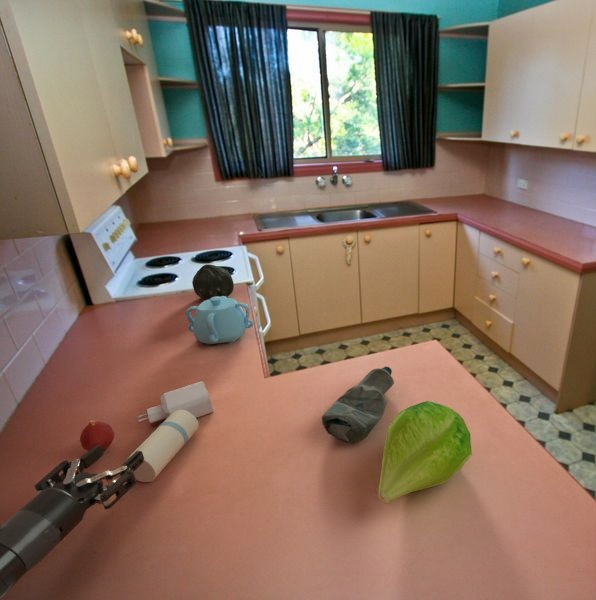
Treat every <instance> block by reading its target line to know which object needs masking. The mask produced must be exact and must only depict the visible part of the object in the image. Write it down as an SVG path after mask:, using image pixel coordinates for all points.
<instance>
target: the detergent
mask: <svg viewBox="0 0 596 600" xmlns="http://www.w3.org/2000/svg"><path fill="white" fill-rule="evenodd" d="M392 372H393V370H392V369H391V367H390V366H383V367H380V368H378V367H377V368H373V369H371V370H370V371H369V372H367V374H366V375H365V376H364V377H363V378H362V379H361V380H360V382H359V383H357V384H356V385H354V386H352V387H351V388H349V389H348V390H346V391H345V392H344V393H343V394H342V395H341V396H340V397H338V398H337V399H336V400H335V402H334V403H333V404H332V405H331V406H330V407H329V408H328V409H327V410H326V411H325V412H324V414H323V415H322V416H321V423H322V425H323V428H324V429H325V431H326V432H327V434H328V435H330V436H333V437H334V438H335V439H339V440H341V441H343V442H346V443H353V444H354V443H358V442H361V441H363V440H364V439H366V438H367V437H368V435H369V434H370V433H371V431H373V430H374V428H375V427H376V425H377V424H378V423H379V422H380V421H381V419H383V416H384V413H385V411H386V407H387V404H388V401H387V399H386V397H385V394H386V393H387V392H388V391H389V390H391V388H392V387H393V385H394V384H395V381H394V379H393V376H392Z"/></svg>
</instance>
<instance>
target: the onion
mask: <svg viewBox="0 0 596 600" xmlns="http://www.w3.org/2000/svg"><path fill="white" fill-rule="evenodd" d="M114 439H115V431H114V429H113V428H112V426H111V425H110V424H109V423H107V422H104V421H97V420H96V421H95V420H90V421H89V422H88V424H87V425H86V426H85V427H84V428H83V429H82V431H81V433H80V436H79V442H80V445H81V447H82V448H83V449H84V450H85V451H87V452H88V451H89V450H90V449H92V448H94V447H95V446H96V445H99V446H102V449H103V451H104V452H105V451H106V450H107V449H109V447H110V445H111V444H112V443H113V442H114Z"/></svg>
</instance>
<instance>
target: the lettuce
mask: <svg viewBox="0 0 596 600" xmlns="http://www.w3.org/2000/svg"><path fill="white" fill-rule="evenodd" d="M382 454H383V455H382V460H381V461H382V462H381V472H380V478H379V484H378V499H379V500H380V501H381V502H382V503H384V504H387V503H391V502H393V501H394V500H397V499H399V498H401V497H403V496H405V495H408V494H409V493H412V492H417V491H420V490H425V489H428V488H432V487H436V486H439V485H442V484H445V483H446V482H448V481H449V480H450V479H451V478H452V477H453V476H454V475H456V473H458V472H459V471H460V470H461V469H462V468H463V467H464V466H465V464H466V463H467V462H468V461H469V459H471V457H472V456H473V450H472V441H471V433H470V430H469V428H468V426H467V424H466V422H465V420H464V418H463V417H462V416H461V414H460V413H458V412H457V411H455V410H454V409H453V408H451V407H449V406H446V405H443V404H440V403H437V402H433V401H431V400H426V401H422V402H420V403H417V404H413V405H411V406H408V407H406V408H404V409H403V410H401V411H400V412H399V413H398V414H397V415H396V416H395V417H394V418H393V420H392V422H391V423H390V425H389V426H388V427H387V431H386V437H385V442H384V448H383V453H382Z"/></svg>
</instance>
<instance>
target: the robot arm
mask: <svg viewBox="0 0 596 600" xmlns="http://www.w3.org/2000/svg"><path fill="white" fill-rule="evenodd" d="M104 454H105V451H103V449H102V446H99V445H96V446H95V447H94V448H92V449H90V450H89V451H87V452H85V453H84V454H83V455H82V456H80V457H79V458H76V459H74V460H72V461H69V460H67V459H65V460H62V461H61V462H59V464H57V466H55V467H54V468H53V469H52V470H50V471H49V472H48V473H46V475H45V476H44V477H42V478H41V479H40V480H39V481H38V482H36V483H35V484H34V489H35V490H36V493H37V495H36V496H34V497H33V498H32V499H30V500H29V502H26V504H25V505H23V506H22V507H21V508H20V509H19V510H18V511H16V512H15V513H14V514H13V515H11V516H10V517H9V518H8V519H7V520H5V522H3V523H1V525H0V599H2V598H3V597H4V596H5V595H6V594H7V593H8V592H9V591H10V590H11V589H12V588H13V587H14V586H15V585H16V584H17V583H18V582H19V581H20V580H21V579H22V578H23V577H24V576H25V575H27V573H28V572H29V571H30V570H32V569H33V568H34V567H36V566H37V565H39V563H41V561H43V560H44V559H45V558H46V557H47V556H48V555H49V554H50V553H51V552H52V551H53V550H54V549H55V548H56V547H57V546H58V545H59V544H60V543H61V542H62V541H63V540H64V539H65V538H66V537H67V536H68V535H69V534H70V533H71V532H72V531H73V530H74V529H75V528H76V527H77V526H79V524H80V523H81V522H82V521H83V519H84V516H85V514H86V511H87V510H89V508H91V507H93V506H94V505H96V504H99V505H101V506H102V507H103V508H104V510H109V509H111V508H113V507H114V506H115V505H116V504H117V503H118V501H120V500H121V499H122V498H123V497H124V496H125V495H126V494H127V493H128V492H129V491H130V490H131V489H132V488H133V487H134V486H135V485H136V484H137V483H138V480H136V478H135V475H134V471H135V470H136V469H137V468H138V467H139V466H140V465H141V464H142V463H143V462H144V456H143V453H142V451H136V452H135V453H134V454H133V455H132V456H131V457H130V458H129V459H128V460H127V461H126V462H125V461H124V462H123V463H122V464H121V466H119V467H117V468H115V469H112V470H104V471H103V472H101V473H89V472H88V471H87V472H86V471H85V470H88V469H90V467H91V466H93V465H94V464H95V463H96V462H97V461H99V459H101V457H103V456H104ZM119 475H120V477H117V476H119ZM115 477H117V478H115ZM114 478H115V479H114ZM104 480H105V481H106V482H107V485H106V486H104V482H103V481H104Z"/></svg>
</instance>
